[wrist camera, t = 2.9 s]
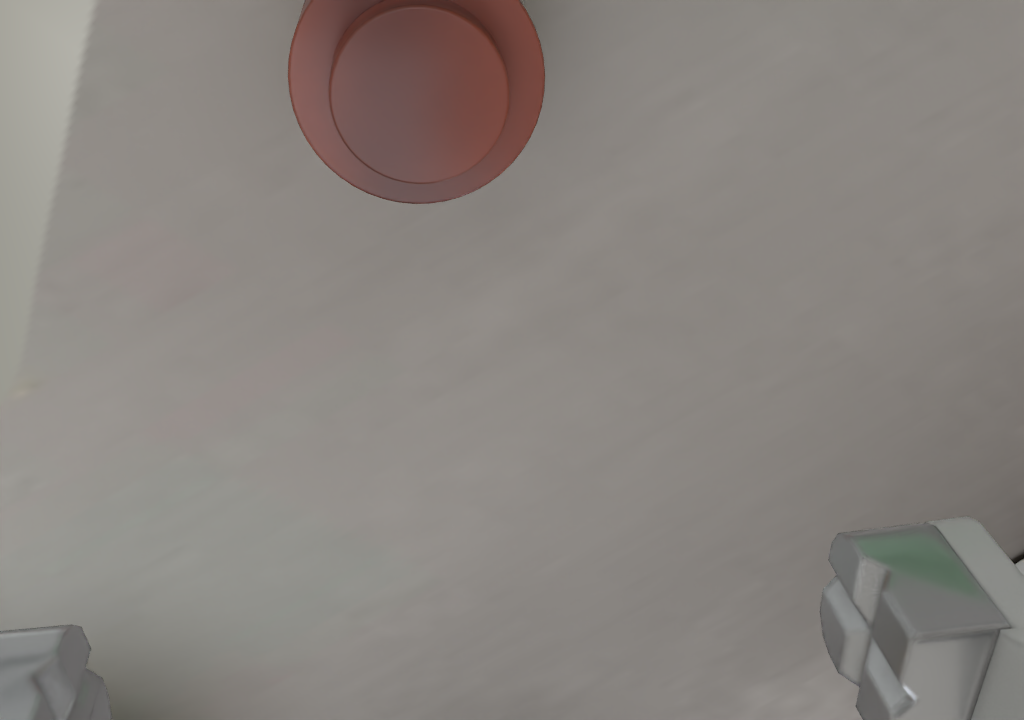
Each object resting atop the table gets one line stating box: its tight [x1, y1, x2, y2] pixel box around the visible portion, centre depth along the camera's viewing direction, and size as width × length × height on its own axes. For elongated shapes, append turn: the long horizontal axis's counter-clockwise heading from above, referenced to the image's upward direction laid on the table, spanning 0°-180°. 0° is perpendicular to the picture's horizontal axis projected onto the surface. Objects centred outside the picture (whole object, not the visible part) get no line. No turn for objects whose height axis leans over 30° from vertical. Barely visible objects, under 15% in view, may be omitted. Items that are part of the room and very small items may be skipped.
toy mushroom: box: [288, 0, 545, 204], centre depth 25 cm, size 6×6×7 cm
